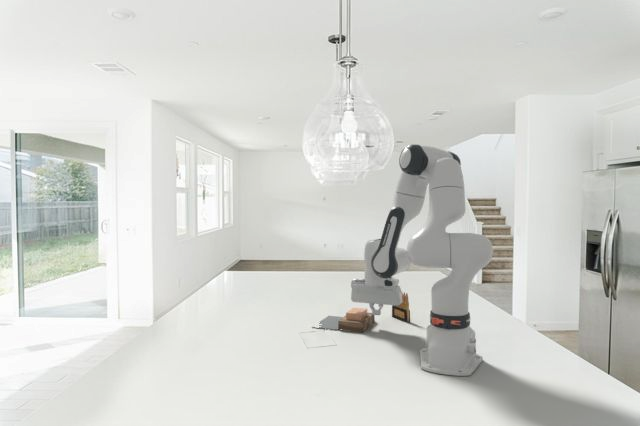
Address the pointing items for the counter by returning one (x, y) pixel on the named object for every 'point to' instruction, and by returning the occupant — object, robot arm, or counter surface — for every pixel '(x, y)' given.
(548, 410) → the counter surface
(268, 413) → the counter surface
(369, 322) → the deck
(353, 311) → the tile
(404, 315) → the ammunition clip
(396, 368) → the counter surface
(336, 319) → the mat
